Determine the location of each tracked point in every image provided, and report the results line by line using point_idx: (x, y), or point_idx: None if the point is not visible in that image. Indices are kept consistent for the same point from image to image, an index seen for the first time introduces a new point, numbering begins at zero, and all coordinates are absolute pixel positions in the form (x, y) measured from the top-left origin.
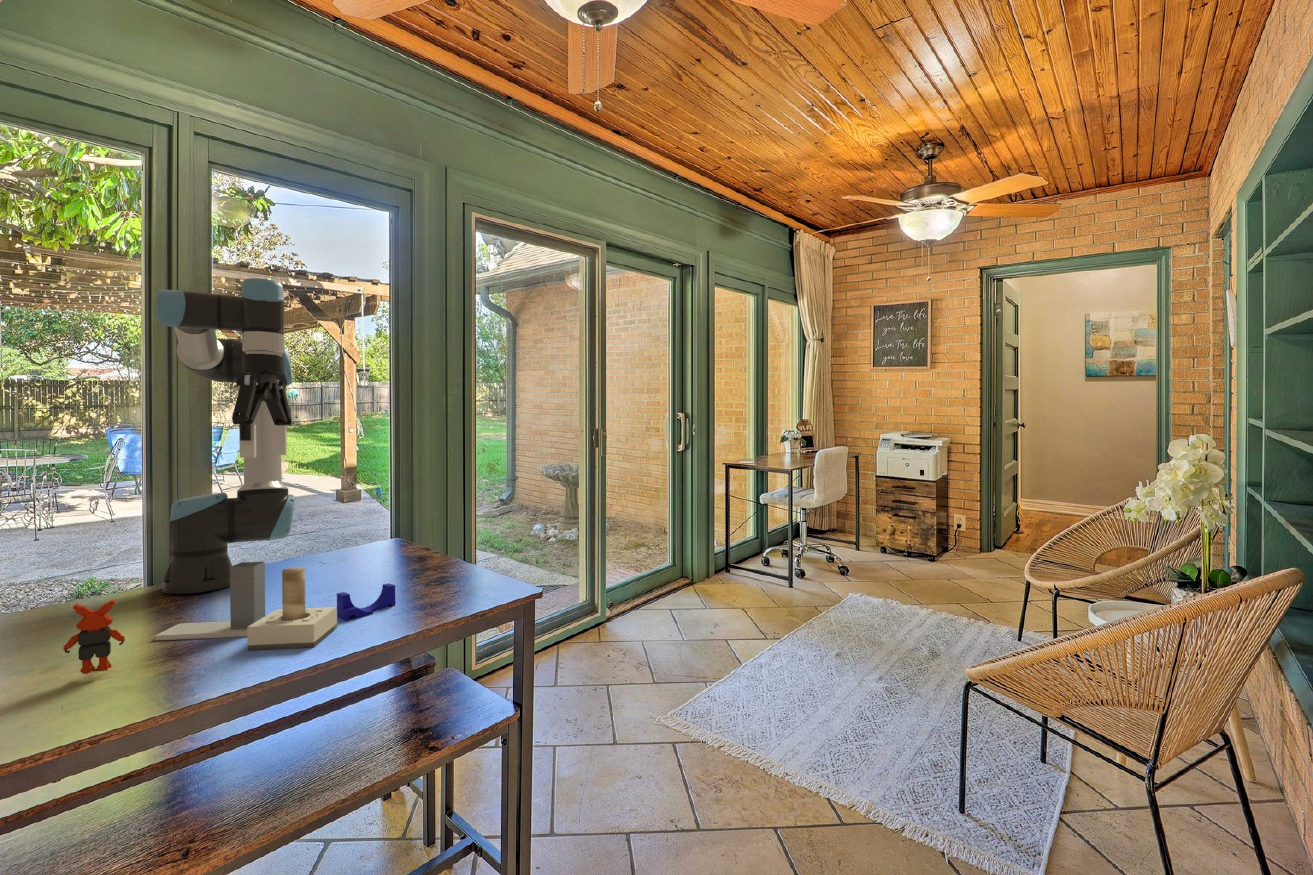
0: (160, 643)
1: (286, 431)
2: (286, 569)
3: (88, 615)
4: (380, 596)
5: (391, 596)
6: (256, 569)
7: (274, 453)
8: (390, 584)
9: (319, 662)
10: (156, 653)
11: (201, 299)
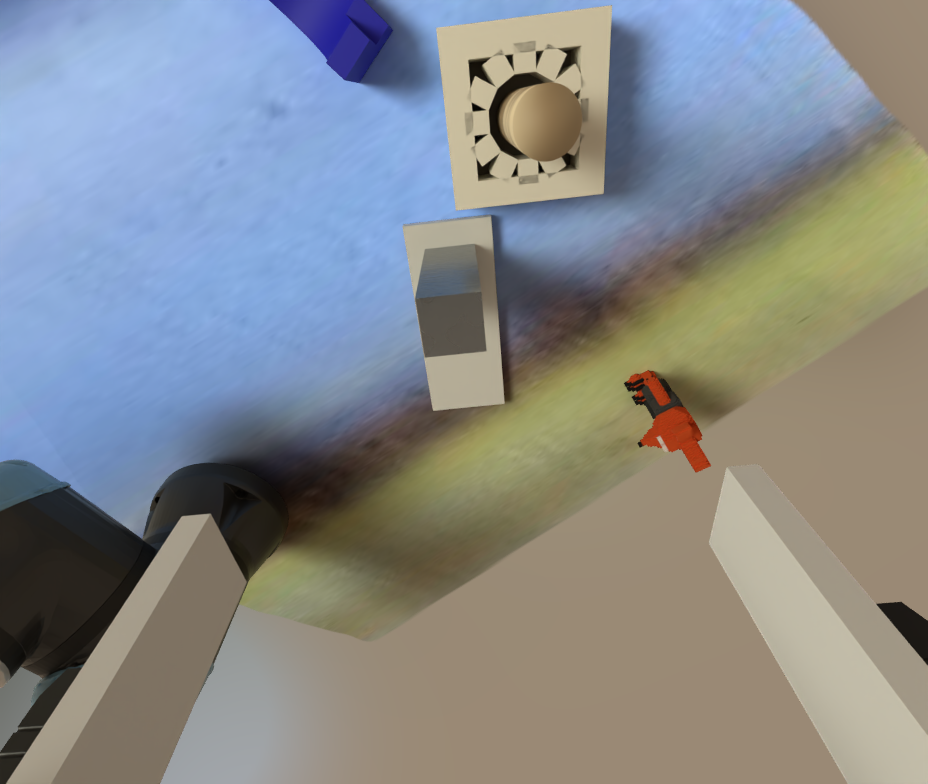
0: (521, 380)
1: (30, 753)
2: (542, 152)
3: (700, 437)
4: None
5: None
6: (465, 288)
7: (235, 582)
8: None
9: None
10: (576, 350)
11: None
